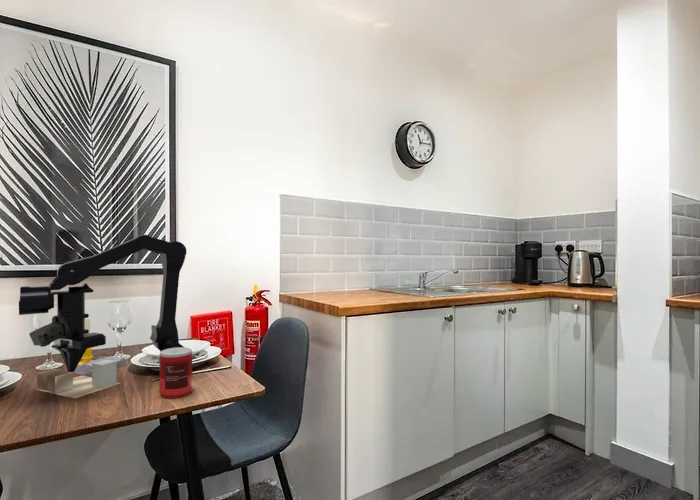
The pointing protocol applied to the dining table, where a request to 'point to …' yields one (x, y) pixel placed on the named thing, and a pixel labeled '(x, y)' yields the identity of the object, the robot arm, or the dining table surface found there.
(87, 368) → the stone block
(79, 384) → the serving board
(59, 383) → the walnut block
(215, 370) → the dining table surface
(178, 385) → the canned food
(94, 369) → the pale grey block
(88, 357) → the candle
